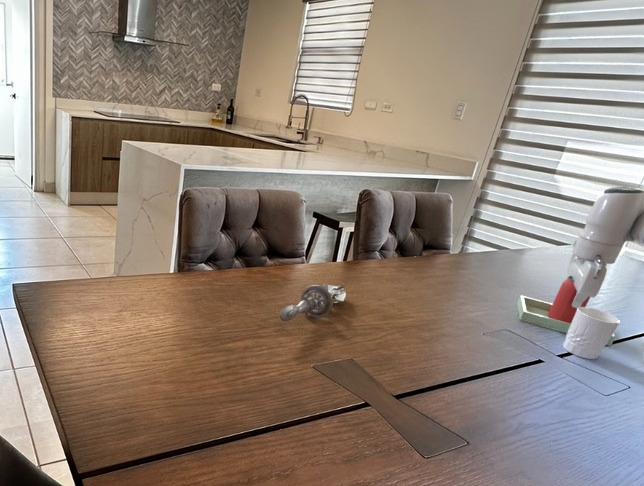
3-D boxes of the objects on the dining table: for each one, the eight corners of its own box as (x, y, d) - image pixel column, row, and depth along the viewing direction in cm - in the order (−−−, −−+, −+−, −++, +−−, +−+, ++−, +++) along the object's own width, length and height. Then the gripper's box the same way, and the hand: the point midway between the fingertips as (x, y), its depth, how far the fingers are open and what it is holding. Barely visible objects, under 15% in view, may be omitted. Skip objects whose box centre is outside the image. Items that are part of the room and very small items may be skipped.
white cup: (596, 350, 113) (616, 314, 109) (603, 365, 107) (623, 326, 103) (557, 339, 116) (575, 303, 113) (561, 352, 110) (580, 314, 106)
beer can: (553, 323, 124) (572, 282, 119) (542, 313, 130) (560, 273, 125) (581, 329, 122) (601, 287, 118) (568, 318, 128) (588, 278, 124)
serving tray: (600, 325, 128) (604, 317, 126) (610, 346, 116) (615, 337, 115) (517, 303, 136) (520, 295, 135) (519, 320, 125) (523, 311, 124)
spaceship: (262, 298, 100) (296, 297, 95) (327, 275, 127) (356, 274, 122) (266, 335, 100) (300, 336, 95) (330, 304, 127) (359, 304, 122)
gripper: (620, 265, 108) (594, 318, 114) (602, 245, 125) (580, 292, 130) (587, 258, 111) (563, 310, 116) (574, 239, 128) (553, 285, 133)
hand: (572, 300), depth 123 cm, fingers open, 8 cm apart
